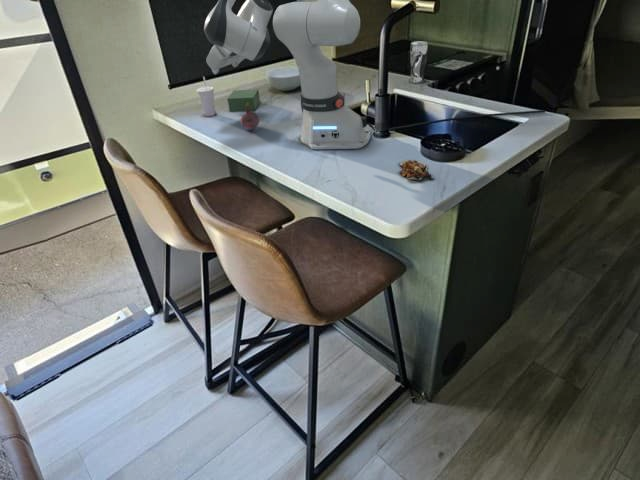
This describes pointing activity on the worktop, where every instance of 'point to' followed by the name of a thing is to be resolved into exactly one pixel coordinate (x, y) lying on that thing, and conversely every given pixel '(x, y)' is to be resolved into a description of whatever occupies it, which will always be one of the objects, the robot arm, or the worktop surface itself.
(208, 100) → the smoothie
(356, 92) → the worktop surface
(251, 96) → the green block
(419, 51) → the beer glass
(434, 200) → the worktop surface
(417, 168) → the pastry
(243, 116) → the vegetable
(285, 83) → the cereal bowl
